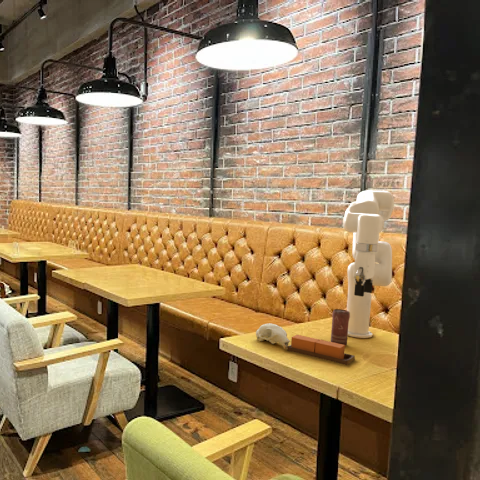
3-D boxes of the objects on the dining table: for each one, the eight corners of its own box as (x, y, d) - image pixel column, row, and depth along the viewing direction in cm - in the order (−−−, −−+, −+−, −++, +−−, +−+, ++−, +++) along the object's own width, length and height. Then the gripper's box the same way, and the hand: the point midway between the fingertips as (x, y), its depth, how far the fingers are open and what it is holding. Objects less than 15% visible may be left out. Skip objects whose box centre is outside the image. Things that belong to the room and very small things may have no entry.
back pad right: (319, 352, 181) (320, 339, 181) (344, 358, 176) (345, 344, 175) (314, 355, 178) (315, 342, 177) (339, 361, 172) (340, 347, 171)
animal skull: (273, 352, 180) (270, 325, 182) (253, 349, 196) (250, 324, 197) (297, 349, 183) (294, 322, 185) (276, 346, 199) (273, 321, 200)
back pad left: (296, 347, 187) (297, 334, 187) (319, 352, 181) (319, 339, 181) (290, 349, 183) (291, 337, 183) (313, 355, 178) (314, 342, 177)
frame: (296, 347, 189) (296, 342, 189) (354, 361, 175) (354, 355, 175) (287, 351, 182) (287, 346, 182) (346, 366, 168) (347, 361, 168)
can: (348, 347, 190) (351, 312, 189) (331, 346, 192) (334, 311, 190) (346, 343, 196) (348, 309, 195) (329, 341, 198) (332, 308, 196)
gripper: (363, 246, 187) (360, 289, 189) (348, 248, 174) (345, 295, 175) (384, 247, 182) (380, 292, 184) (370, 250, 169) (366, 299, 171)
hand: (363, 294), depth 180 cm, fingers open, 9 cm apart
